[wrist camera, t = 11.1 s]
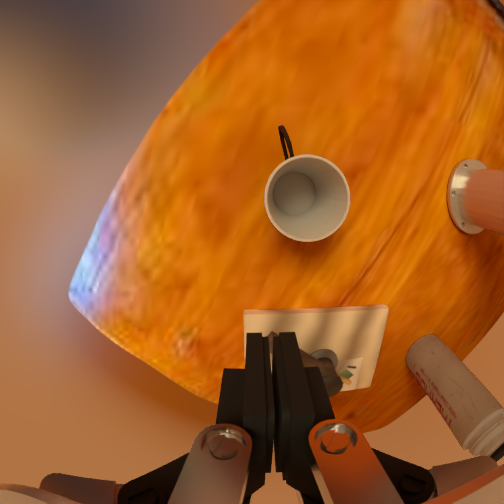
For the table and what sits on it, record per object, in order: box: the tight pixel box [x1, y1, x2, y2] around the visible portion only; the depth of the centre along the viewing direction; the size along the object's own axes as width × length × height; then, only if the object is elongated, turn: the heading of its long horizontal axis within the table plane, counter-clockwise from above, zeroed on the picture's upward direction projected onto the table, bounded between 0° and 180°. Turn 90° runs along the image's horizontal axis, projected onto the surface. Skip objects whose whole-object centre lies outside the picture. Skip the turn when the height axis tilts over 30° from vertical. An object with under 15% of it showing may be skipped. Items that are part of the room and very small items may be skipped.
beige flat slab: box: [244, 304, 389, 391], centre depth 42 cm, size 22×16×2 cm
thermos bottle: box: [406, 335, 504, 462], centre depth 30 cm, size 8×8×28 cm
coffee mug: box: [264, 125, 350, 242], centre depth 31 cm, size 12×9×10 cm
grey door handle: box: [267, 331, 352, 397], centre depth 38 cm, size 18×4×5 cm, turn 53°
